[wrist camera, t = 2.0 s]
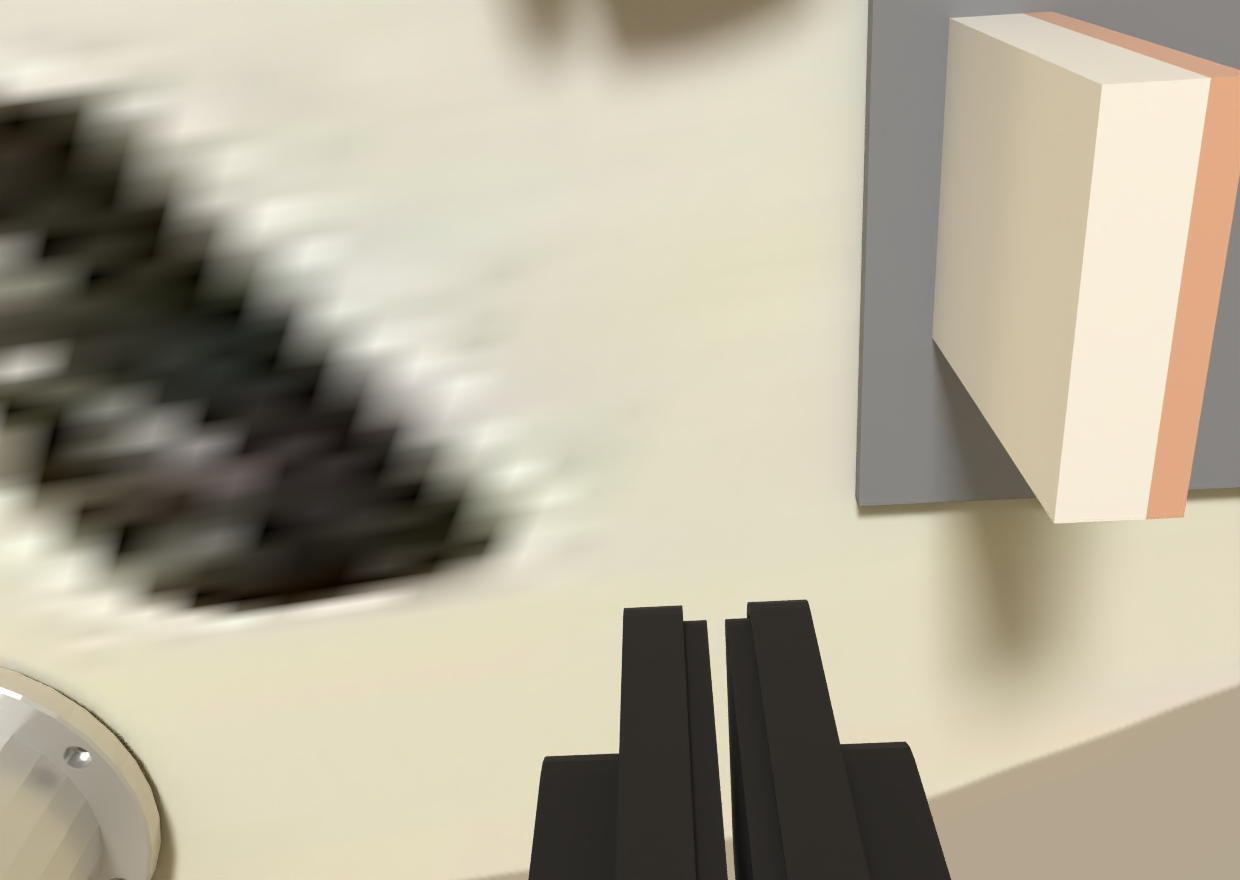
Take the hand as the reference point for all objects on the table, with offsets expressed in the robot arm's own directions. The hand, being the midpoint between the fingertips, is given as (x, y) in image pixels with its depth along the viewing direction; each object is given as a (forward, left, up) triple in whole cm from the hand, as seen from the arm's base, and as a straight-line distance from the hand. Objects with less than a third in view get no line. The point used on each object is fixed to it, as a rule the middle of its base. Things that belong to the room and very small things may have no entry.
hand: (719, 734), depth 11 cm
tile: (0, -8, -21) cm, 22 cm away
